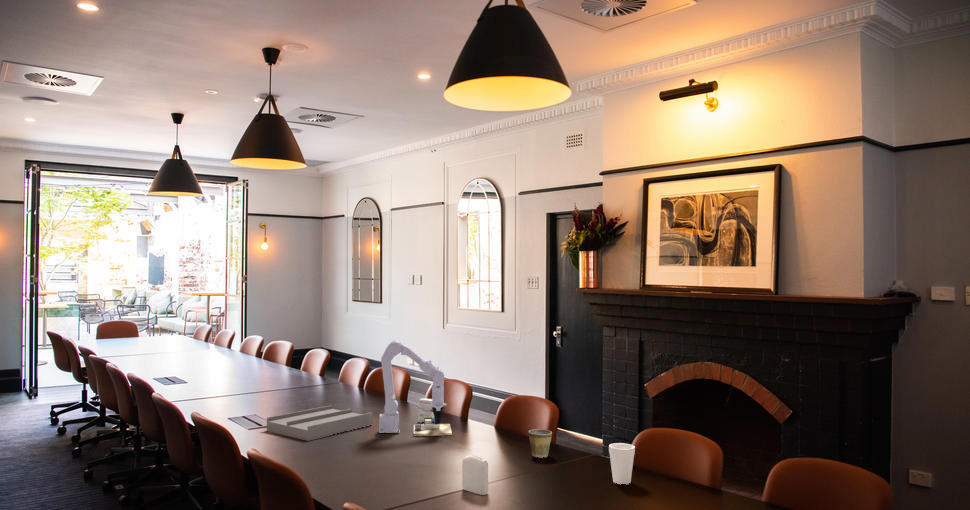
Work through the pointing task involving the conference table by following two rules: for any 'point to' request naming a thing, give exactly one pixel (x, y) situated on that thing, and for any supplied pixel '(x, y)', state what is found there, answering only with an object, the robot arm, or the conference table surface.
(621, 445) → the foam cup
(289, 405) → the conference table surface
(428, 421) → the block
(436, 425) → the lever
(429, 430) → the base
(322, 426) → the desk organizer
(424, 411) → the ink box
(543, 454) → the ceramic cup
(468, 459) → the white upright slab
